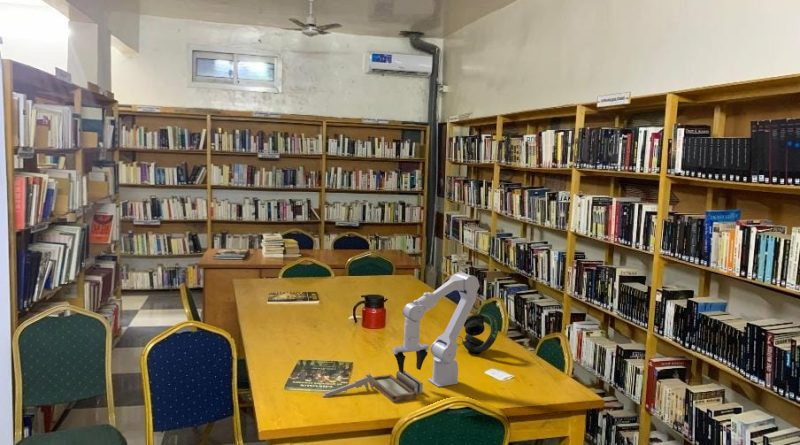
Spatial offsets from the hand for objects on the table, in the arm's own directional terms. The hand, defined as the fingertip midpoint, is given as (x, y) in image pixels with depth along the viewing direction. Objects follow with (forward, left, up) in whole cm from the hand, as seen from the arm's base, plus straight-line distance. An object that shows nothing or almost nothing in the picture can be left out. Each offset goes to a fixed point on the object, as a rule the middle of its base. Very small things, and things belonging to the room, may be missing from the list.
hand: (409, 370), depth 227 cm
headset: (-48, -30, -7) cm, 57 cm away
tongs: (0, 0, -7) cm, 7 cm away
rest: (+7, 0, -7) cm, 10 cm away
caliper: (+23, -4, -7) cm, 25 cm away
